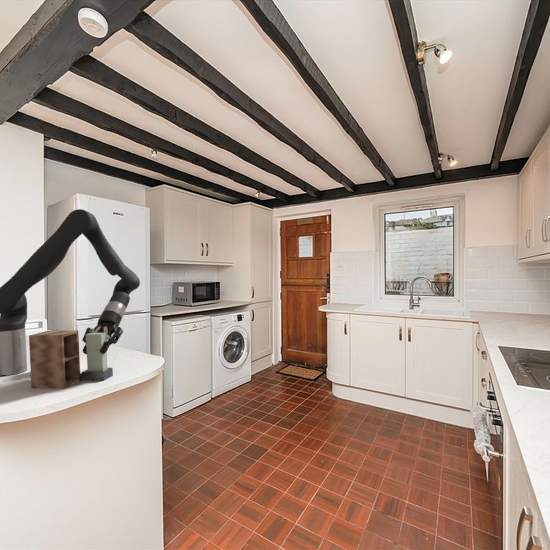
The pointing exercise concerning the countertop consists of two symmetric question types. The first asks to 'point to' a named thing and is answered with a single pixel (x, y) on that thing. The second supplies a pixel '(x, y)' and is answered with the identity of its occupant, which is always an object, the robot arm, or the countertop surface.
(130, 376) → the countertop surface
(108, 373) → the dark grey rectangular frame
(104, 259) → the robot arm
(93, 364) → the sage green block
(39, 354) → the cabinet
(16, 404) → the countertop surface
